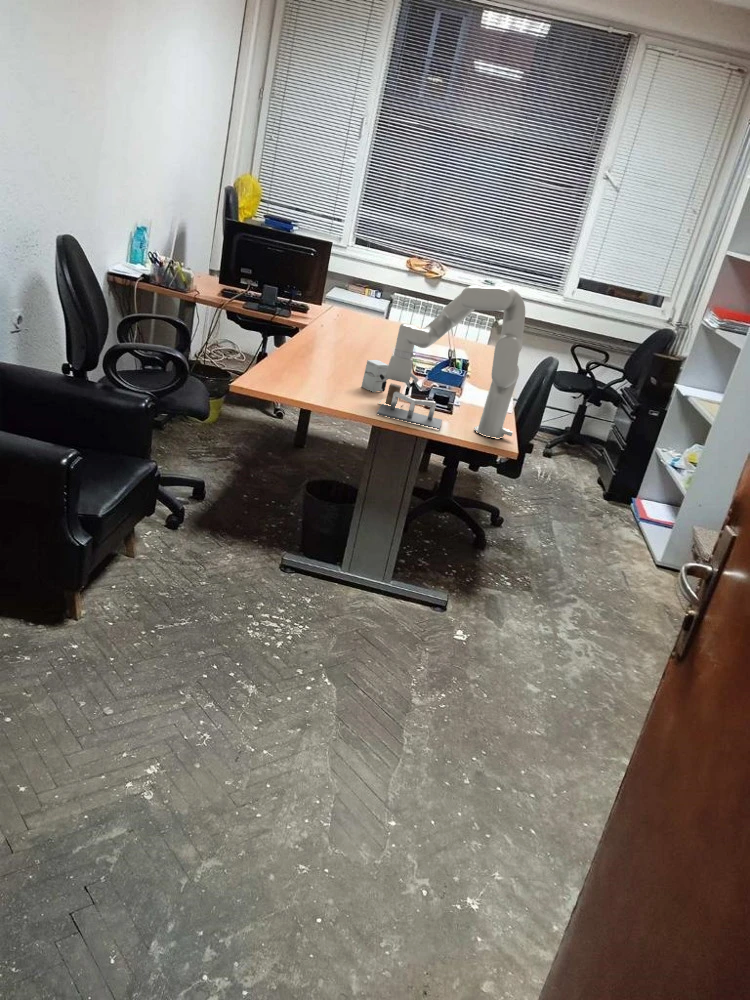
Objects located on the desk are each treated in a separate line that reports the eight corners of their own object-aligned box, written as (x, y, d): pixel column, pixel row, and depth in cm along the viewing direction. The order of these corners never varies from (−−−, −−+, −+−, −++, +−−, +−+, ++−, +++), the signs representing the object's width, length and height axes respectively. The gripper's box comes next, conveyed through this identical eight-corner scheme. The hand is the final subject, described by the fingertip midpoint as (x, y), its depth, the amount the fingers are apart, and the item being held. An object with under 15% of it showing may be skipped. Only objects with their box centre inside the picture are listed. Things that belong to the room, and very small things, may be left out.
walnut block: (396, 403, 325) (401, 385, 322) (395, 406, 321) (399, 388, 318) (386, 401, 325) (390, 383, 322) (385, 403, 321) (389, 385, 318)
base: (441, 422, 315) (442, 419, 315) (438, 431, 303) (439, 428, 303) (381, 406, 317) (382, 404, 316) (376, 414, 305) (377, 411, 304)
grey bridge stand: (432, 419, 312) (436, 401, 309) (430, 423, 306) (435, 405, 303) (390, 408, 313) (394, 390, 310) (387, 412, 307) (392, 394, 304)
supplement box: (360, 387, 338) (366, 359, 333) (372, 386, 343) (378, 359, 338) (371, 392, 334) (378, 365, 329) (383, 392, 339) (389, 364, 334)
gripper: (424, 357, 317) (415, 396, 324) (384, 347, 319) (376, 386, 325) (422, 360, 310) (413, 400, 317) (381, 350, 312) (373, 390, 318)
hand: (394, 393), depth 321 cm, fingers open, 9 cm apart
